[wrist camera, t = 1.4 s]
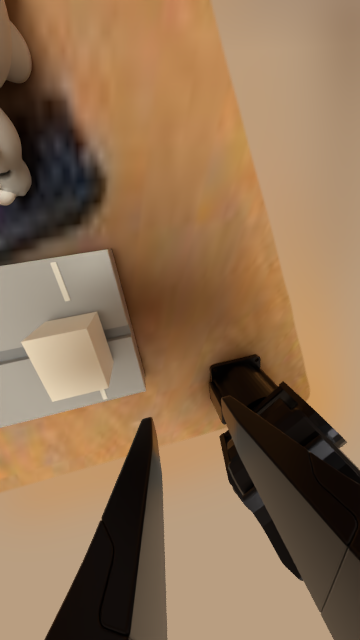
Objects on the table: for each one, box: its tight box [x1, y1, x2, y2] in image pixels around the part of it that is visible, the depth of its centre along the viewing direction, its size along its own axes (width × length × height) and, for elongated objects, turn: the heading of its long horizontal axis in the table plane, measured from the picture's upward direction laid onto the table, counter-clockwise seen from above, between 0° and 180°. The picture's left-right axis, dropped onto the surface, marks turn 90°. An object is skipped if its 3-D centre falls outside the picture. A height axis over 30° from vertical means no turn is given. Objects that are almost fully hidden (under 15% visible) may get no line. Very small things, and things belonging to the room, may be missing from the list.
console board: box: [0, 249, 146, 428], centre depth 17 cm, size 20×14×3 cm
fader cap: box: [21, 312, 114, 402], centre depth 15 cm, size 4×5×4 cm
